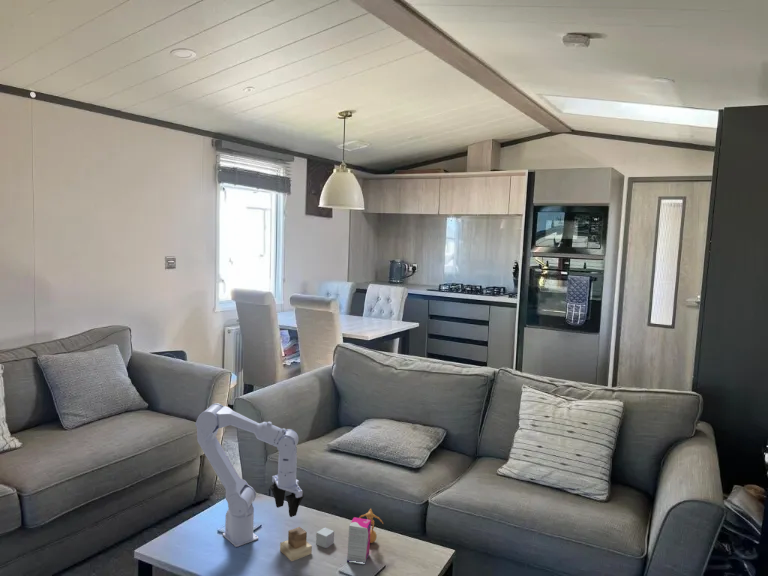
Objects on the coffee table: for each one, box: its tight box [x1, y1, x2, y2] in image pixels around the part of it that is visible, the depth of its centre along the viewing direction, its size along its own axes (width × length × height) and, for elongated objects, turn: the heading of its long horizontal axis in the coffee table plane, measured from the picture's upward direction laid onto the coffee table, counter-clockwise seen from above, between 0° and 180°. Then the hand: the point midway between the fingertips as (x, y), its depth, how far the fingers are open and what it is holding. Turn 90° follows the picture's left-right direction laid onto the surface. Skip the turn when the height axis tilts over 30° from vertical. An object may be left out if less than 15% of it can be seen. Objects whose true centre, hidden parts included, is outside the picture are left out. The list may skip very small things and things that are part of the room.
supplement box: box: [346, 516, 372, 564], centre depth 167 cm, size 6×6×12 cm
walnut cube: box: [287, 526, 308, 549], centre depth 170 cm, size 4×4×4 cm
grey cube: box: [315, 527, 335, 549], centre depth 175 cm, size 4×4×4 cm
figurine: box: [358, 508, 384, 544], centre depth 176 cm, size 8×6×12 cm
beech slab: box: [279, 539, 313, 562], centre depth 170 cm, size 7×7×3 cm
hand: (286, 511), depth 175 cm, fingers open, 7 cm apart
